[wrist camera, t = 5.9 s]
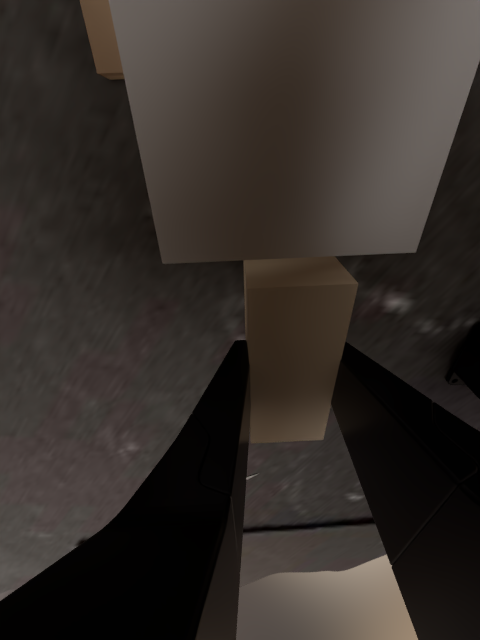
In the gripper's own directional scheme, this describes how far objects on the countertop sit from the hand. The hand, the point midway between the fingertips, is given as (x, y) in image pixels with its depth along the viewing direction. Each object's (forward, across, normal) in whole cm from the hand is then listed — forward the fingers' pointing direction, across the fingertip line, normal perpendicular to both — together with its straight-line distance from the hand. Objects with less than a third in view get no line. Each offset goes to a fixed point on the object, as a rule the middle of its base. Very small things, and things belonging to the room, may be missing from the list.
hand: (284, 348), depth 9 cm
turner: (+1, 0, -3) cm, 3 cm away
